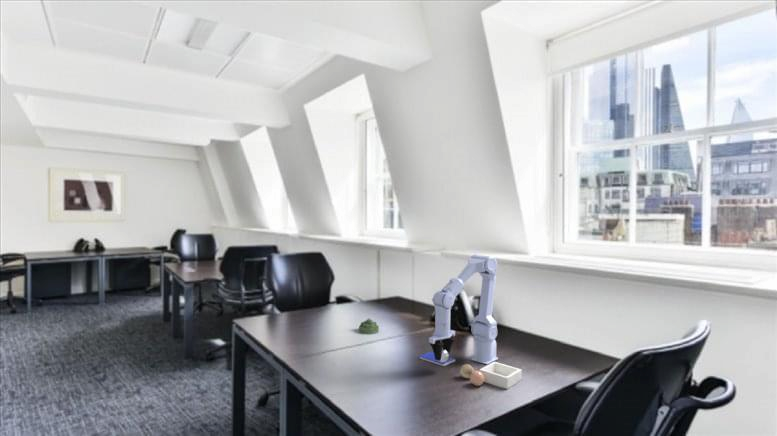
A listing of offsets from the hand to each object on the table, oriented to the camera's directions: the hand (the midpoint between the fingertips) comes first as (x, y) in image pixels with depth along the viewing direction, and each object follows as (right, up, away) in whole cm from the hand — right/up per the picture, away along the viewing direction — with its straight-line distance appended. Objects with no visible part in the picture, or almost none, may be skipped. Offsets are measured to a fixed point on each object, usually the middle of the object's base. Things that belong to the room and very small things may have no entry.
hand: (442, 357), depth 160 cm
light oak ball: (+9, -6, -5) cm, 12 cm away
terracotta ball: (+11, -6, -12) cm, 17 cm away
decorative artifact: (-31, -4, +51) cm, 60 cm away
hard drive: (0, -6, +13) cm, 15 cm away
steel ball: (0, -2, 0) cm, 2 cm away
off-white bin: (+21, -6, -7) cm, 23 cm away
